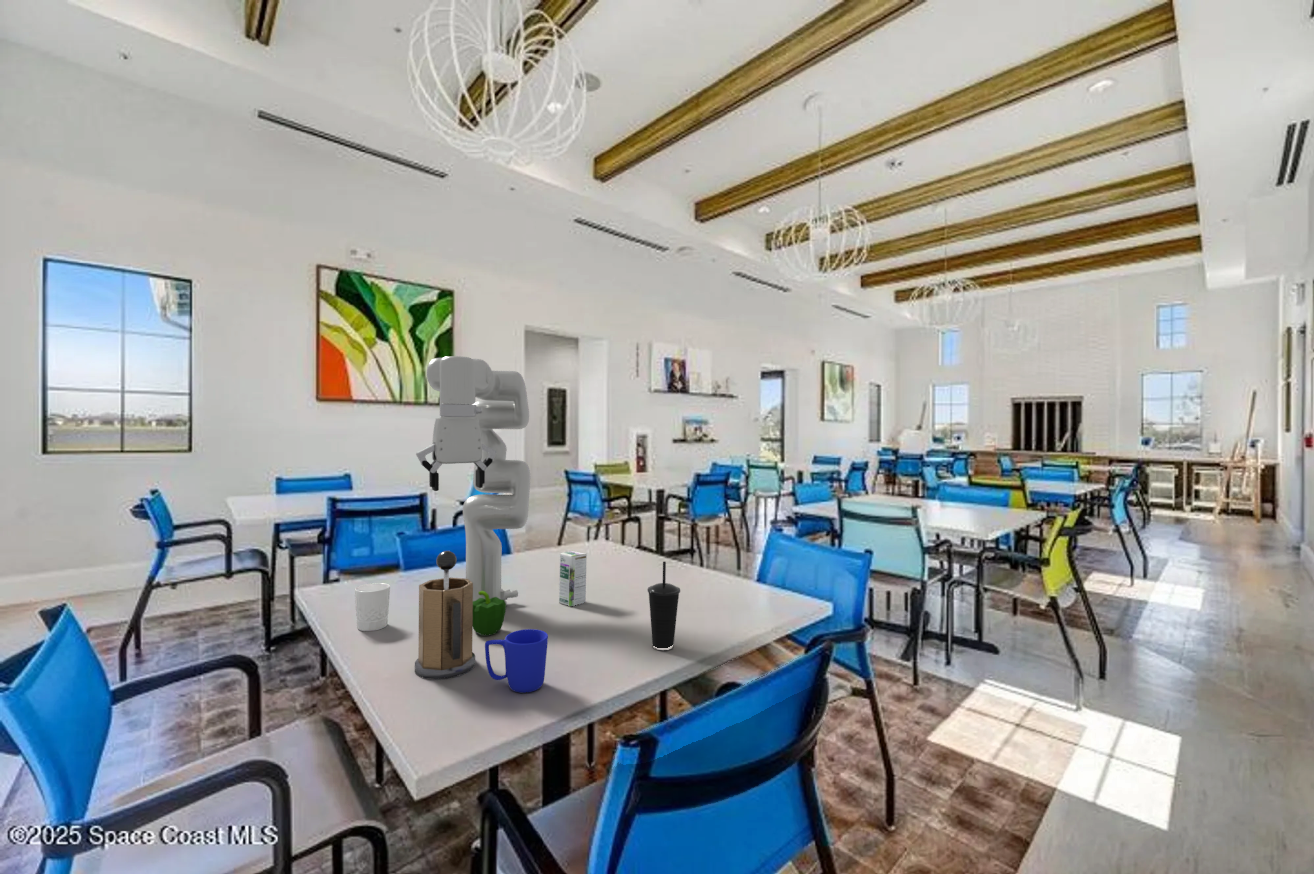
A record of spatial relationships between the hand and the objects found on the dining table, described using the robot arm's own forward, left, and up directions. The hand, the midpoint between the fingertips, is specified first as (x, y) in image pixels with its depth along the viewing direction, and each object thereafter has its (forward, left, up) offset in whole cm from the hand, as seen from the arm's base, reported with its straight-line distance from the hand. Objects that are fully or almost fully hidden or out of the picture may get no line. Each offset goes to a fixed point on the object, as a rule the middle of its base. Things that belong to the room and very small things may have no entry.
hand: (457, 488), depth 128 cm
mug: (-5, +24, -37) cm, 44 cm away
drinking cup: (-41, +23, -37) cm, 60 cm away
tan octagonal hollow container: (+4, +8, -37) cm, 38 cm away
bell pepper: (-10, -8, -37) cm, 39 cm away
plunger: (+4, +7, -31) cm, 32 cm away
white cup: (+13, -27, -37) cm, 48 cm away
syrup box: (-38, -18, -37) cm, 56 cm away
